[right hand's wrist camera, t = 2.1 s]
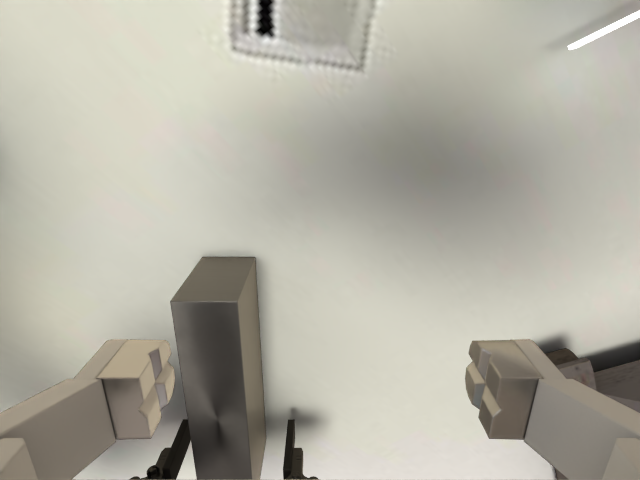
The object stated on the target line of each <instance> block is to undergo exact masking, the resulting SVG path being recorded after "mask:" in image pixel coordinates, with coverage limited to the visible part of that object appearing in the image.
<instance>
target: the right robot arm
mask: <svg viewBox="0 0 640 480" xmlns="http://www.w3.org/2000/svg"><path fill="white" fill-rule="evenodd" d="M639 17H640V10H639V11H637V12H635V13H633V14H631V15H629V16H627V17H625V18H623V19H621V20H619V21H617V22H615V23H613V24H611V25H609V26H607V27H605V28H603V29H601V30H599V31H597V32H595V33H593V34H591V35H589V36H587V37H585V38H583V39H581V40H579V41H577V42H575V43H573V44H571V45H569V46H568V49H569V50H570V49H576V48H578V47H580V46H582V45H584V44H586V43H588V42H590V41H592V40H594V39H596V38H598V37H600V36H602V35H604V34H606V33H608V32H610V31H612V30H614V29H616V28H619V27H621V26H623V25H625V24H627V23H629V22H631V21H633V20H635V19H637V18H639ZM170 355H171V349H170V345H169V343H168V342H167V341H166V340H132V339H130V340H128V339H111V340H108V341H106V342H105V343H104V345H103V346H102V347H101V348H100V349H99V350H98V351H97V353H96V354H95V355H94V356H93V357H92V358H91V359H90V361H89V362H88V363H87V364H86V365H85V366H84V367H83V369H82V370H81V371H80V372H79V373H78V374H77V375H76V377H75V378H74V379H66V380H64V381H62V382H60V383H58V384H56V385H55V386H53V387H51V388H49V389H47V390H45V391H43V392H41V393H39V394H37V395H35V396H33V397H31V398H29V399H27V400H25V401H23V402H21V403H19V404H17V405H15V406H13V407H11V408H9V409H7V410H5V411H3V412H1V413H0V480H71V479H72V478H74V477H75V476H76V475H77V474H78V473H79V472H81V471H82V470H83V469H84V468H85V467H87V466H88V465H89V464H90V463H91V462H92V461H94V460H95V459H96V458H97V457H98V456H100V455H101V454H102V453H103V452H104V451H105V450H107V449H108V448H109V447H110V446H111V445H113V444H114V443H115V442H116V440H121V439H151V438H152V436H153V433H154V431H155V429H156V427H157V425H158V423H159V421H160V419H161V411H160V409H162V408H163V407H165V406H166V405H167V404H168V403H169V401H170V399H171V397H172V394H173V389H174V384H175V374H174V368H173V367H172V365H171V364H170V363H169V362H168V359H169V357H170ZM469 355H470V357H471V359H472V362H471V363H470V364H469V365H468V367H467V368H466V375H465V382H466V390H467V393H468V397H469V399H470V401H471V403H472V404H473V405H474V406H475V407H477V408H478V409H480V411H479V419H480V421H481V423H482V425H483V427H484V429H485V431H486V433H487V435H488V437H489V439H519V440H524V442H525V443H527V444H528V445H529V446H530V447H531V448H532V449H534V450H535V451H536V452H537V453H538V454H539V455H541V456H542V457H543V458H544V459H545V460H547V461H548V462H549V463H550V464H551V465H552V466H554V467H555V468H556V469H557V470H558V471H559V472H561V473H562V474H563V475H564V476H565V477H567V478H568V479H569V480H640V413H638V412H636V411H635V410H633V409H631V408H629V407H627V406H625V405H623V404H621V403H619V402H617V401H615V400H613V399H611V398H609V397H607V396H605V395H603V394H601V393H599V392H597V391H595V390H593V389H591V388H589V387H587V386H585V385H584V384H582V383H580V382H578V381H576V380H574V379H566V378H565V377H564V375H563V374H562V373H561V372H560V371H559V370H558V369H557V367H556V366H555V365H554V364H553V363H552V362H551V361H550V359H549V358H548V357H547V356H546V355H545V354H544V353H543V351H542V350H541V349H540V348H539V347H538V346H537V345H536V343H535V342H534V341H532V340H530V339H518V340H487V341H472V343H471V345H470V349H469Z"/></svg>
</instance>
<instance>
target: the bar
mask: <svg viewBox="0 0 640 480" xmlns="http://www.w3.org/2000/svg"><path fill="white" fill-rule="evenodd" d="M170 303H171V309H172V316H173V323H174V329H175V336H176V343H177V349H178V356H179V363H180V369H181V376H182V383H183V389H184V396H185V403H186V409H187V416H188V422H189V429H190V436H191V442H192V449H193V456H194V462H195V469H196V476H197V480H260V476H261V470H262V463H263V457H264V450H265V444H266V425H265V409H264V393H263V377H262V360H261V344H260V328H259V311H258V295H257V279H256V263H255V257H202V258H201V260H200V261H199V262H198V264H197V265H196V267H195V268H194V269H193V271H192V272H191V274H190V275H189V276H188V278H187V279H186V280H185V282H184V283H183V285H182V286H181V287H180V289H179V290H178V291H177V293H176V294H175V296H174V297H173V298H172V300H171V301H170Z"/></svg>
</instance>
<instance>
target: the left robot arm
mask: <svg viewBox="0 0 640 480" xmlns="http://www.w3.org/2000/svg"><path fill="white" fill-rule="evenodd" d="M190 441H191V436H190V429H189V422H188V419H183V421H182V423H181V426H180V428H179V430H178V433H177V435H176V437H175V440H174V442H173V444H172V447H171V448H165V449H164V450H163V451H162V452H161V454H160V457H159V459H158V461H157V463H156V465H153V466H151V467H150V468H149V469H148V470H147V477H145V478H141V479H140V478H139V477H137V476H136V477H132V478H131V479H130V480H176V478H177V475H178V473H179V470H180V467H181V465H182V462H183V460H184V457H185V454H186V452H187V449H188V446H189V444H190ZM294 444H295V420H288V426H287V436H286V446H285V456H284V466H283V476H284V480H319V479H318V478H317V477H310V478H307V477H305V476H304V475H303V451H302V448H294Z"/></svg>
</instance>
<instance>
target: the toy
mask: <svg viewBox="0 0 640 480" xmlns="http://www.w3.org/2000/svg"><path fill="white" fill-rule="evenodd" d="M545 355H546V356H547V357H548V358H549V359H550V361H551V362H552V363H553V364H554V365H555V366H556V367H557V369H558V370H559V371H560V372H561V373H562V374H563V375H564V377H565V378H566V379H574V380H576V381H578V382H580V383H582V384H584V385H585V386H587V387H589V388H591V389H593V390H595V391H597V392H599V393H601V394H603V395H605V396H607V397H609V398H611V399H613V400H615V401H617V402H619V403H621V404H623V405H625V406H627V407H629V408H631V409H633V410H635V411H636V412H638V413H640V360H638V361H634V362H630V363H627V364H623V365H619V366H616V367H612V368H608V369H605V370H601V371H598V372H593V368H592V365H591V362H590V360H588V359H587V358H581V359H578V358H577V357H576V355H575V354H574V353H573V352H571V351H570V350H569V349H566V348H564V349H561V350H557V351H554V352H550V353H547V354H545ZM555 471H556V475H557V480H569V479H568V478H567V477H565V476H564V475H563V474H562V473H561V472H559V471H558V470H557V469H556V468H555Z"/></svg>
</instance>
